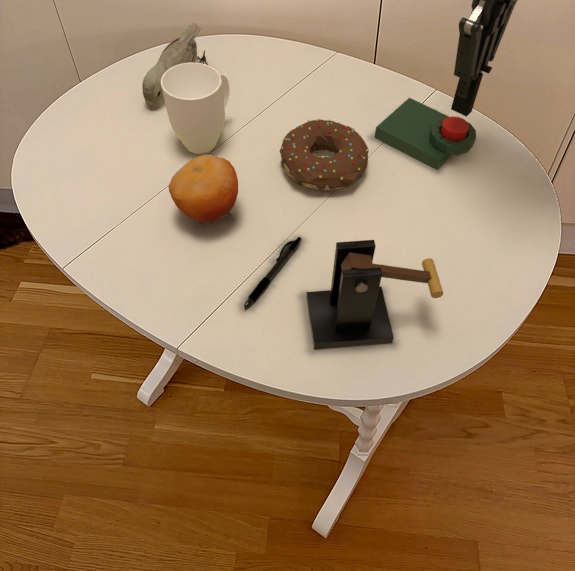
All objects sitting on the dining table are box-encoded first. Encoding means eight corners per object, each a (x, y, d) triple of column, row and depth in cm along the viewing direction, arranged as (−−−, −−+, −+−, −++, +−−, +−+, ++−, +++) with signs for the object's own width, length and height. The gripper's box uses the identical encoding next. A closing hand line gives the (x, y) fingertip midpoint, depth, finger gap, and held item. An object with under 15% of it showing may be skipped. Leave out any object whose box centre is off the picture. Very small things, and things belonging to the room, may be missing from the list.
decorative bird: (136, 105, 102) (128, 67, 96) (187, 57, 111) (182, 19, 105) (163, 115, 101) (155, 77, 95) (212, 65, 109) (209, 27, 103)
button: (470, 132, 94) (473, 123, 92) (458, 145, 92) (460, 136, 90) (448, 121, 95) (451, 112, 94) (435, 134, 93) (437, 125, 92)
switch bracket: (380, 291, 80) (395, 228, 70) (392, 342, 75) (410, 283, 65) (306, 297, 79) (310, 233, 69) (314, 349, 75) (319, 290, 64)
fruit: (194, 250, 85) (170, 203, 77) (179, 208, 90) (156, 161, 83) (257, 225, 85) (239, 176, 78) (238, 185, 91) (221, 135, 83)
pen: (293, 237, 85) (293, 232, 85) (303, 242, 85) (303, 236, 84) (238, 306, 78) (237, 301, 78) (248, 311, 78) (248, 307, 77)
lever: (427, 268, 74) (437, 256, 72) (437, 301, 71) (448, 289, 70) (338, 255, 70) (347, 242, 69) (345, 289, 67) (354, 277, 66)
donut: (264, 154, 96) (264, 129, 91) (337, 128, 99) (340, 103, 95) (308, 212, 88) (310, 188, 84) (385, 182, 92) (390, 157, 88)
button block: (481, 144, 98) (488, 124, 94) (450, 177, 93) (457, 157, 90) (407, 108, 103) (411, 88, 100) (374, 137, 98) (377, 118, 95)
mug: (203, 170, 93) (194, 106, 84) (161, 147, 96) (148, 83, 86) (249, 130, 99) (245, 66, 89) (208, 110, 102) (200, 46, 92)
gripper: (505, -82, 75) (460, 81, 94) (453, -45, 69) (416, 121, 88) (562, -65, 72) (503, 99, 91) (513, -24, 66) (461, 143, 85)
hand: (461, 110), depth 90 cm, fingers closed
